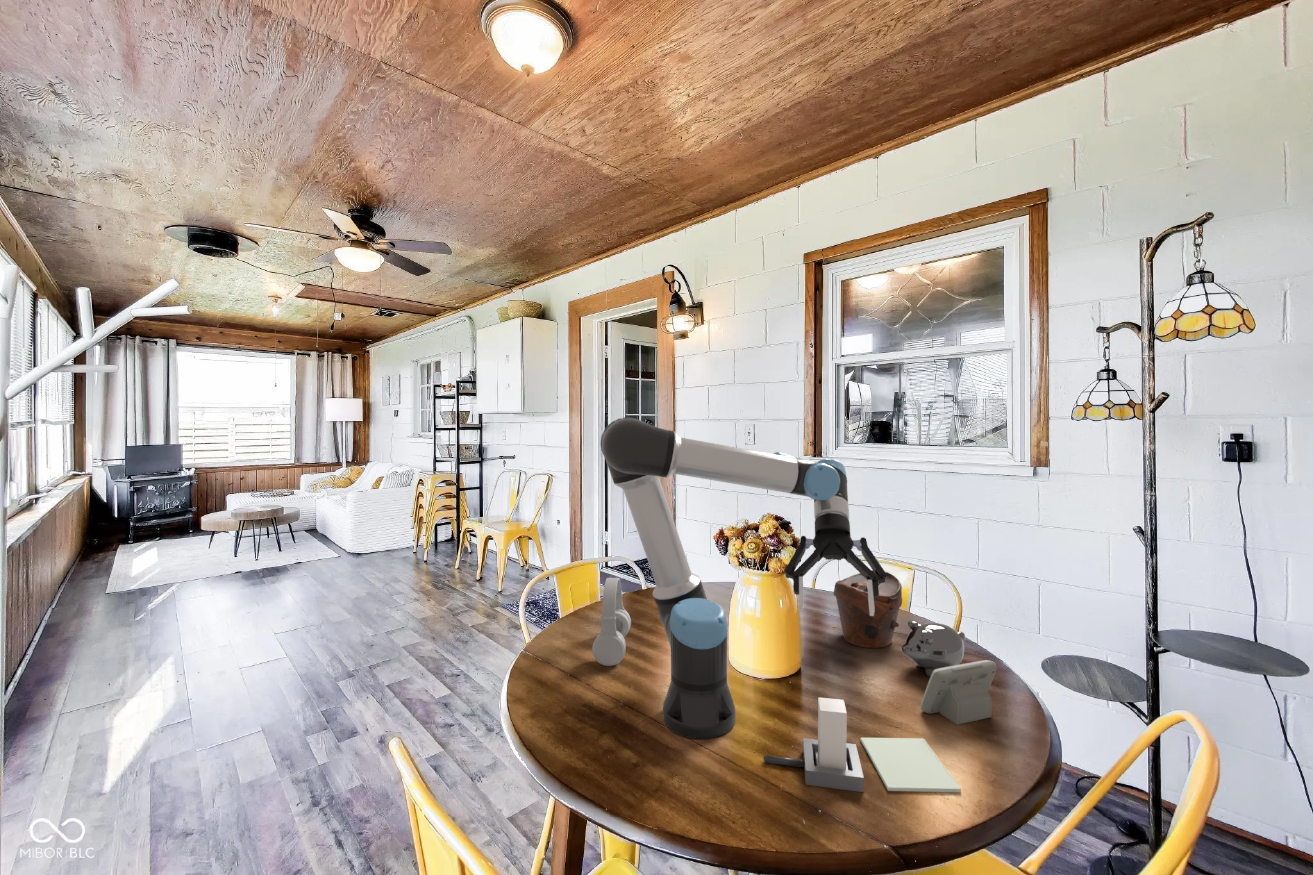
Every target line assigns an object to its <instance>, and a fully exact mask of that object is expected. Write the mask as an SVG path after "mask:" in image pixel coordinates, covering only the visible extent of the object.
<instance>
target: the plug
mask: <svg viewBox="0 0 1313 875" xmlns="http://www.w3.org/2000/svg"><path fill="white" fill-rule="evenodd" d="M817 699H818V700H817V702H818V703H817V706H818V707H817V716H818V717H817V740H818V752H816V757H815V766H819V767H827V768H835V769H843V770H849V765H848V761H846V743H847V735H848V734H847V731H848V730H847V727H848V726H847V725H848V723H847V722H848V720H847V719H848V717H847V716H848V714H847V708H846V705H845V699H839V698H830V697H829V698H828V697H818V698H817Z"/></svg>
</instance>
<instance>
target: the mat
mask: <svg viewBox="0 0 1313 875" xmlns="http://www.w3.org/2000/svg"><path fill="white" fill-rule="evenodd" d="M860 742H861V744H862V746H863V747H864V750H865V751H866V753H867V754H868V757H869V759H870V760H871V763H872V764H873V766H874V768H875V769H876V772H877V773H878V775H879V777H880V778H881V780H882V782H883V784H884V786H885V788H886V790H887V791H888V792H923V793H925V792H926V793H927V792H929V793H931V792H932V793H961V792H962V788H961V787H960V786H959V784H958V782H957V781H956V780H955V778H953V776H952V775H951V773H950V772H949V771H948V769H947V768H946V767H945V764H944V763H943V762H942V761H941V760H940V759H939V757H938V756H937V754H936V753H935V751H934V750H933V749H932V748H931V746H930V745H929V743H928V742H927V741H926V739H925V738H919V737H918V738H915V737H914V738H913V737H911V738H909V737H860Z"/></svg>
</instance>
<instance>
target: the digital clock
mask: <svg viewBox="0 0 1313 875" xmlns="http://www.w3.org/2000/svg"><path fill="white" fill-rule="evenodd" d="M997 669H998V667H997V664H996V662H995V661H993V660H987V659H985V660H984V659H983V660H978V661H972V662H966V663H961V664H959V665H955V666H949V667H944V668H939V669H935V670H934V671H933V672H932V674H931V677H930V676H929V680H928V682H927V684H926V689H925V691H924V693H923V696H922V699H921V702H920V709H921V711H922V712H924V713H926V714H930V715H931V714H935V713H937V714H940V715H942V716H943V717H945V718H946V719H948V721H951V722H952V723H953V724H955V725H962V724H963V725H964V724H967V723H971V722H977V721H981V720H985V719H990V718H991V717H992V705H993V704H992V696H991V694H990V693H989V690H990V687H991V685H992V683H993V681H994V677H995V675H996V674H997Z"/></svg>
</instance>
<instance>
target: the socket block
mask: <svg viewBox="0 0 1313 875" xmlns="http://www.w3.org/2000/svg"><path fill="white" fill-rule="evenodd" d="M816 752H818V739H815V738H805V737H803V738H802V753H803V759H801V758H800V759H799V758H792V757H783V756H776V755H768V754H766V755H764V757H763V761H764V762H765V763H766V764H774V765H780V766H781V765H783V766H790V767H797V768H804V778H805V779H804V781H805V785H806V786H808V785H809V786H813V787H814V786H815V787H823V788H830V789H838V790H845V791H850V792H852V791H853V792H859V793H860V792H861V793H865V792H864V791H865V778H864V772H863V768H862V765H861V760H860V756H859V752H858V747H857V744H856V743H850V742H849V743H848V742H846V761H847V763H848V768H849V769H848V770H843V769H835V768H827V767H819V766H816V765H815V761H814V759H815V758H816Z"/></svg>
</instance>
